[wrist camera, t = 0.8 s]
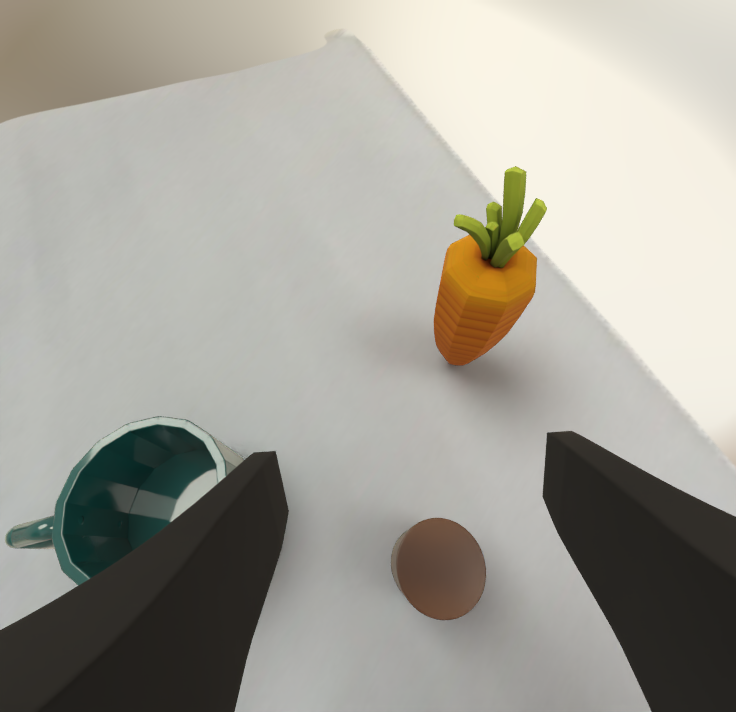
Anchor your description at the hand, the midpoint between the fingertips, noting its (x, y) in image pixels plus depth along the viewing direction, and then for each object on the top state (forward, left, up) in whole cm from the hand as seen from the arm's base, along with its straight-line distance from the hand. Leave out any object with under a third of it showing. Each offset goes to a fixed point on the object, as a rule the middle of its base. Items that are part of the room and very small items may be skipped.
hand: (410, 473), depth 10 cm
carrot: (+10, -6, -15) cm, 19 cm away
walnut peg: (-2, -2, -15) cm, 15 cm away
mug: (+1, +14, -15) cm, 20 cm away
